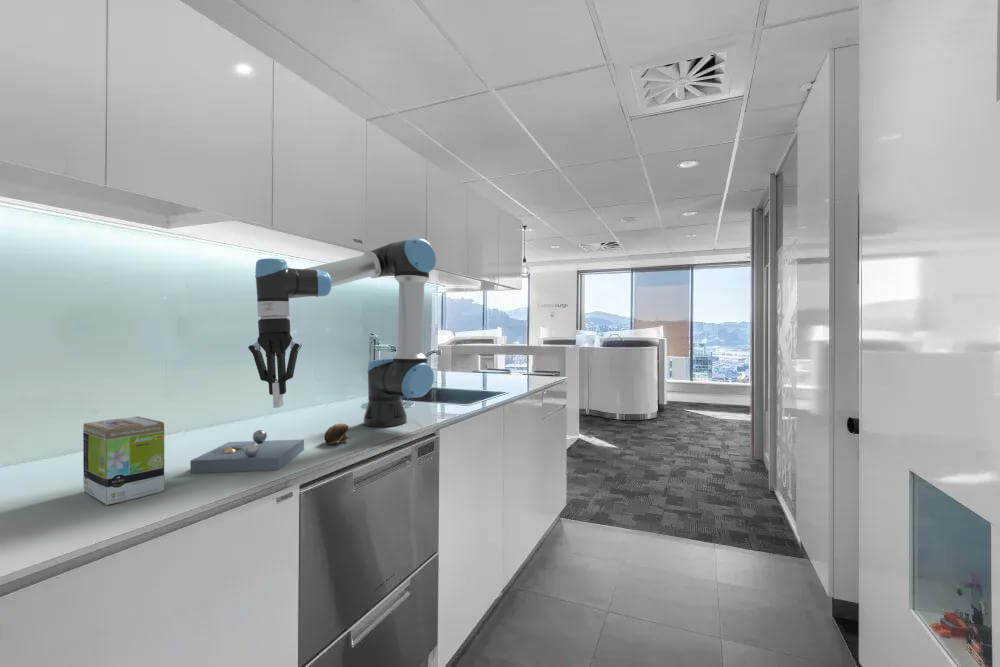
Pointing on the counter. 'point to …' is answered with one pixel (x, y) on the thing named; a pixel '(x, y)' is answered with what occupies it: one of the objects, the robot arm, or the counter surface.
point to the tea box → (123, 458)
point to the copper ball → (230, 450)
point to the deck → (248, 457)
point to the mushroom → (336, 434)
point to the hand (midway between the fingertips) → (278, 406)
